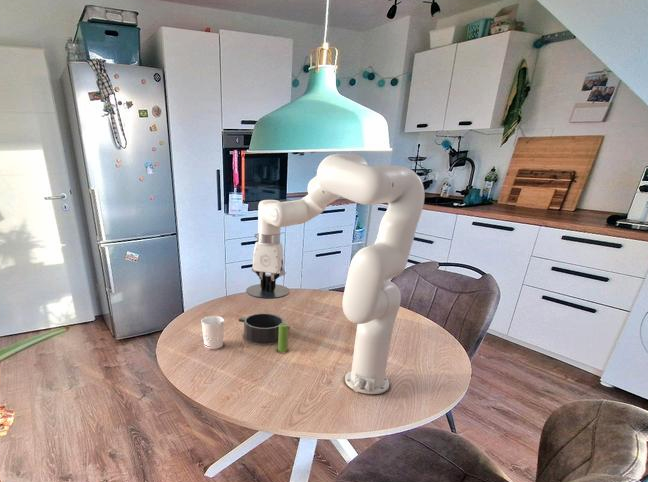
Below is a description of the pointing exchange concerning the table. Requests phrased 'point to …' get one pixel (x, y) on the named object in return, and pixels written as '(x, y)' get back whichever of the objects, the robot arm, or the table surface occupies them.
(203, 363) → the table surface
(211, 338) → the white cup
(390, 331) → the robot arm
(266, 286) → the pot lid
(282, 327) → the green cylinder
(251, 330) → the pot
